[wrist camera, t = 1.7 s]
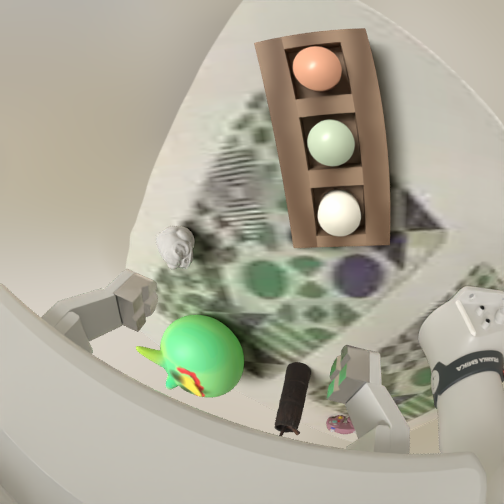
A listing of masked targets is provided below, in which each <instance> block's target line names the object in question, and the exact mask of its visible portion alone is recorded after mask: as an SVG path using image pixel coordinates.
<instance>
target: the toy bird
mask: <svg viewBox="0 0 504 504" xmlns="http://www.w3.org/2000/svg"><path fill="white" fill-rule="evenodd" d="M136 350H137V351H138V352H139V353H140V354H142V355H143V356H145V357H146V358H148V359H149V360H151V361H153V362H154V363H156V364H158V365H160V366H161V367H163V368H164V369H165V370H166V372H167V373H168V377H167V381H166V387H167V389H173V388H175V387H177V386H180V387H181V388H182V389H184V390H185V391H187V392H189V393H191V394H194V395H197V396H200V397H217V396H221V395H224V394H226V393H227V392H229V391H230V390H232V389H233V388H234V387H235V386H236V385H237V383H238V382H239V380H240V378H241V376H242V372H243V368H244V355H243V351H242V347H241V345H240V343H239V341H238V339H237V338H236V336H235V335H234V334H233V332H232V331H231V330H230V329H229V328H228V327H227V326H225V325H224V324H223V323H221V322H220V321H218V320H216V319H214V318H211V317H208V316H204V315H189V316H185V317H182V318H179V319H177V320H176V321H174V322H173V323H172V324H170V325H169V327H168V328H167V329H166V331H165V332H164V334H163V337H162V340H161V345H160V350H155V349H150V348H146V347H141V346H137V347H136Z"/></svg>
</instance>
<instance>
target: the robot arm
mask: <svg viewBox="0 0 504 504" xmlns="http://www.w3.org/2000/svg"><path fill="white" fill-rule="evenodd" d="M156 289H157V283H156V282H155V281H154V280H152V279H149V278H147V277H145V276H143V275H140V274H138V273H135V272H133V271H131V270H129V269H126V270H124V271H123V272H122V273H121V274H119V275H118V276H117V277H116V278H115V279H114V280H113V281H112V282H111V283H110V284H109V285H108V286H107V287H106V288H105V289H102V288H100V289H97V290H93V291H90V292H87V293H83V294H80V295H77V296H74V297H70V298H67V299H64V300H60V301H58V302H57V303H56V304H55V305H54V306H53V307H51V309H49V310H48V311H47V312H46V314H44V315H43V316H42V317H39V316H38V315H37V314H36V313H34V312H33V311H32V310H31V309H30V308H29V307H27V306H26V305H25V304H24V303H23V302H22V301H21V300H19V299H18V298H17V297H16V296H15V295H14V294H13V293H12V292H11V291H9V289H8V288H6V287H5V286H4V285H3V284H1V283H0V504H504V389H503V385H502V382H503V381H504V368H503V367H504V291H500V290H493V289H486V288H479V287H472V286H465V287H463V288H462V289H460V290H459V291H458V292H457V294H456V295H455V296H454V297H453V298H452V299H451V300H450V301H448V302H446V303H445V304H443V305H441V306H440V307H438V308H437V309H436V310H435V311H433V312H432V313H431V314H430V315H429V316H428V317H427V319H426V320H425V321H424V323H423V324H422V326H421V328H420V331H419V335H418V341H419V344H420V346H421V348H422V349H423V351H424V353H425V355H426V358H427V360H428V363H429V366H430V369H431V388H432V394H433V399H434V406H435V407H436V409H437V414H438V429H439V430H438V431H439V450H440V452H441V453H440V454H409V447H410V427H409V425H408V424H407V422H406V420H405V419H404V417H403V415H402V414H401V412H400V410H399V409H398V407H397V406H396V404H395V402H394V401H393V399H392V397H391V396H390V394H389V392H388V391H387V389H386V388H385V386H382V385H381V359H380V354H379V353H378V352H373V351H369V350H365V349H361V348H357V347H353V346H349V345H345V346H344V347H343V349H342V350H341V355H340V356H337V358H336V359H335V361H334V363H333V365H332V368H331V372H330V379H331V380H332V382H331V384H330V385H329V387H328V394H327V400H331V401H336V402H340V403H344V404H345V406H346V409H347V411H348V414H349V416H350V419H351V421H352V424H353V426H354V429H355V431H356V434H357V437H358V440H356V441H355V442H353V443H352V444H350V445H348V446H347V447H346V449H343V448H336V447H329V446H324V445H318V444H313V443H308V442H303V441H299V440H294V439H290V438H286V437H282V436H278V435H274V434H270V433H267V432H263V431H260V430H256V429H253V428H249V427H247V426H243V425H240V424H237V423H234V422H231V421H228V420H226V419H223V418H220V417H217V416H215V415H212V414H209V413H207V412H204V411H202V410H199V409H197V408H194V407H192V406H189V405H187V404H185V403H182V402H180V401H178V400H175V399H173V398H171V397H169V396H167V395H165V394H163V393H161V392H158V391H156V390H154V389H152V388H150V387H148V386H146V385H144V384H142V383H141V382H139V381H137V380H135V379H133V378H131V377H129V376H127V375H126V374H124V373H122V372H120V371H119V370H117V369H115V368H113V367H112V366H110V365H108V364H107V363H105V362H103V361H102V360H100V359H99V358H97V357H95V356H94V355H92V353H93V350H92V347H91V345H90V343H89V341H91V340H93V339H95V338H97V337H99V336H101V335H104V334H106V333H108V332H110V331H112V330H114V329H116V328H118V327H120V326H122V325H124V326H126V327H128V328H130V329H133V330H135V331H137V332H138V331H139V330H140V329H141V327H142V326H143V325H144V324H145V322H146V317H148V316H150V315H152V313H153V312H154V311H155V308H156V306H157V302H158V296H157V294H156V292H155V290H156ZM470 294H471V295H470Z"/></svg>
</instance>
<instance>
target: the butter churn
mask: <svg viewBox="0 0 504 504" xmlns="http://www.w3.org/2000/svg"><path fill="white" fill-rule="evenodd" d="M310 375H311V371H310V369H309V368H308V366H307V365H305V364H303V363H299V362H295V363H291V364H289V365H288V367H287V370H286V375H285V381H284V386H283V390H282V394H281V399H280V403H279V409H278V412H277V417H276V422H275V429H277V430H278V431H281V433H280V435H279V436H282V435H283V433H284V432H294V433H295V434H296V435H298V434H300V432H299V431H298V430H297V429H298V426H299V423H300V420H301V416H302V412H303V408H304V403H305V398H306V392H307V388H308V383H309V379H310Z"/></svg>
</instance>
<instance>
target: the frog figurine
mask: <svg viewBox="0 0 504 504" xmlns="http://www.w3.org/2000/svg"><path fill="white" fill-rule="evenodd" d="M194 243H195V241H194V236H193V234H192V232H191V231H190V230H189V229H187V228H185V227H183V226H169V227H167V228H166V229H164V230H163V233H159V234H158V235H157V237H156V245H157V248H158V251H159V253H160V255H161V256H162V258H163V260H164V261H165V262H166V263H167V264H168V267H169V268H170V269H177V268H178V267H179V268H185V269H187V268H188V267H189V265H190V264H191V263H192V261H193V248H194Z"/></svg>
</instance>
